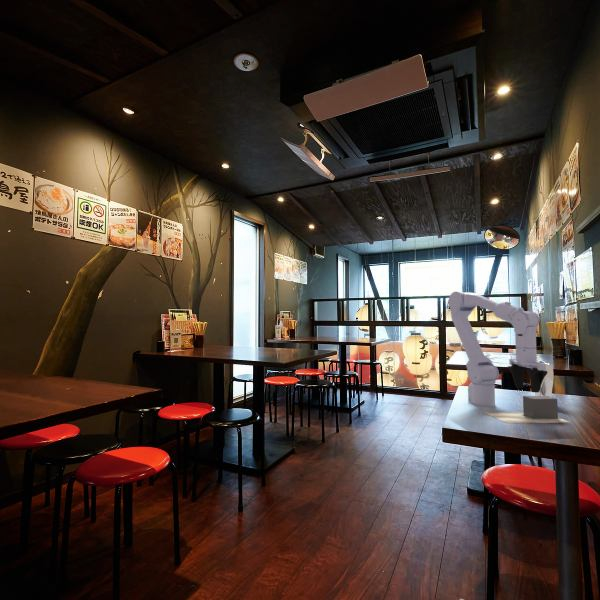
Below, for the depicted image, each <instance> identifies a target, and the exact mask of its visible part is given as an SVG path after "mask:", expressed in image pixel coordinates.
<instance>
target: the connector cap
mask: <svg viewBox="0 0 600 600" xmlns="http://www.w3.org/2000/svg"><path fill="white" fill-rule="evenodd" d="M558 405H559V404H558V398H557V397H549V396H535V395H523V396H522V406H523V407H522V409H523V411H522V412H523V413H524V415H525V416H528V417H530V418H533V419H551V418H559V407H558Z"/></svg>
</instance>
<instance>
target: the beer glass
mask: <svg viewBox="0 0 600 600" xmlns="http://www.w3.org/2000/svg"><path fill="white" fill-rule="evenodd" d="M541 363H542V364H546V370H545V371H547V374H546V376H545V377H544V379H543V382H542V384H541V388H540V392H534V393H535V394H534V396H549V397H552V395H553V393H552V392H553V386H554V378H555V377H554V367H553V364H552V363H547V362H545V363H543V362H541Z"/></svg>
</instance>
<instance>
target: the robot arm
mask: <svg viewBox="0 0 600 600" xmlns="http://www.w3.org/2000/svg"><path fill="white" fill-rule="evenodd" d="M447 304H448V307H449V309H450V317H451V320H452V323H453V325H454V328H455V330H456V333H457V334H458V337H459V339H460V341H461V344H462V346H463V349H464V351H465V354H466V356H467V359H468V360H467V362H466V364H465V367H466V369H467V371H466V372H467V377H468V379H469V381H470V383H469V385H468V386H467V387H468V388H467V402H468V404H473V405H477V406H481V407H495V406H496V391H495V388H496V387H495V384H496V381H497V380H498V379H499V376H500V372H499V369H498V367H497V366H496V365H494V364H493V361H492V360H491V359H490V358H489V357H488V356H486V355H485V354H484V351H483V350H482V347H481V345H480V343H479V340H478V339H477V336H476V334H475V332H474V329H473V327H472V325H471V322H470V320H469V316H470V315H471V314H472V312H473V311H474V310H475V308H476V307H477V306H478V307H480V308H483V309H486V310H488V311H491V312H493V314H494V316H495V317H496V318H499V319H501V320H503V321H505V322H507V323H509V324H511V326H512V327H513V329H514V330H513V331H514V336H515V358H509V359H508V360H509V365H510V366H509V365H508V366H507V369H508V370H509V372H510V373H511V376H512V379H513V382H514V385H515V388H517V389H523V388H524V385H525V374H526V373H527V375H528V379H529V383H530V391H531V393H535V392H540V388H541V384H542V382H543V379H544V377H545V376H546V374H547V371H545V370H546V364H542V363H543V362H540V361H538V358H537V357H538V355H537V334H536V333H537V330H536V328H537V327H538V326H539V324H540V317H539V315H538V314H537V313H536V312H534V310H533V311H532V310H527V311H525V310H524V308H523V307H522V306H521V307H517V306H514V305H512V303H511V302H509V301H502V302H500V303H498V302H496V301H494V300H492V299H490V298H488V297H485V296H484V295H481V294H479V293H475V292H473V291H472V292H467V291H466V292H462V291H453V292H452V293H450V295H449V297H448V300H447Z"/></svg>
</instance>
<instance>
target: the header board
mask: <svg viewBox="0 0 600 600" xmlns="http://www.w3.org/2000/svg"><path fill="white" fill-rule="evenodd" d="M485 414H486V415H487V416H490V417H493V419H497V420H499V421H501V422H504V423H506V424H542V423H543V424H546V423H547V424H549V423H553V424H554V423H570V421H569V420H566V419H563V418H560V417H558V418H551V419H533V418H530V417H528V416H525V415H524V413H523V411H514V412H513V411H511V412H510V411H507V412H506V411H504V412H503V411H502V412H500V411H498V412H496V411H495V412H494V411H493V412H485Z"/></svg>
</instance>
